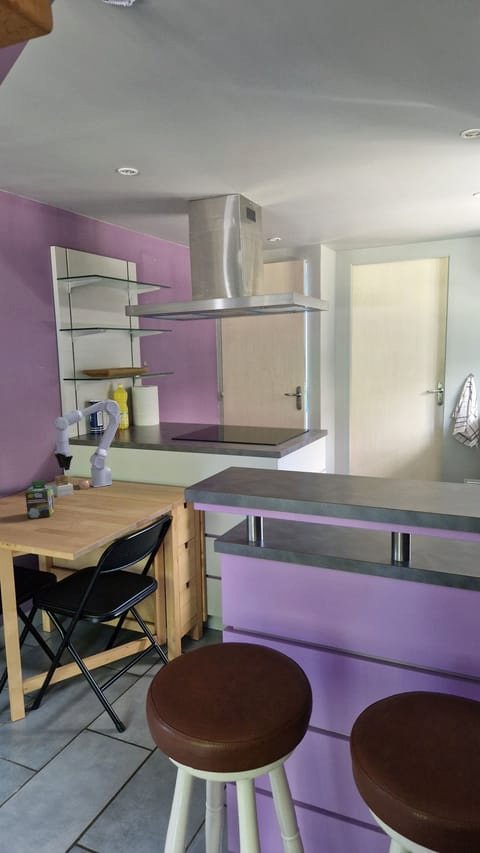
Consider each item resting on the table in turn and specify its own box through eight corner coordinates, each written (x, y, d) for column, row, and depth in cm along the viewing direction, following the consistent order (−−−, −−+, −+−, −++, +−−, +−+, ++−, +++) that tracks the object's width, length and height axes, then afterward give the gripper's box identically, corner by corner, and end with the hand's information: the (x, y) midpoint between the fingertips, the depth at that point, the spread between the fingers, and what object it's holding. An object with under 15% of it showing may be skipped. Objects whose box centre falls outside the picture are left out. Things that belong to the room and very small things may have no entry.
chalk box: (55, 511, 230) (52, 477, 228) (50, 517, 221) (47, 482, 219) (33, 512, 229) (30, 478, 227) (26, 518, 220) (23, 483, 218)
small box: (67, 491, 264) (66, 481, 263) (73, 494, 257) (73, 484, 257) (51, 494, 259) (50, 484, 258) (57, 497, 253) (57, 487, 252)
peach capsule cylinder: (89, 486, 272) (88, 478, 271) (90, 488, 267) (89, 480, 266) (79, 487, 270) (78, 480, 269) (79, 490, 265) (78, 482, 265)
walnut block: (64, 482, 260) (64, 474, 260) (68, 484, 257) (67, 476, 256) (55, 484, 257) (54, 476, 257) (58, 486, 254) (58, 477, 253)
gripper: (49, 440, 268) (52, 467, 269) (58, 444, 256) (60, 472, 258) (64, 439, 272) (66, 465, 273) (73, 442, 260) (75, 470, 262)
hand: (64, 468), depth 266 cm, fingers open, 7 cm apart
